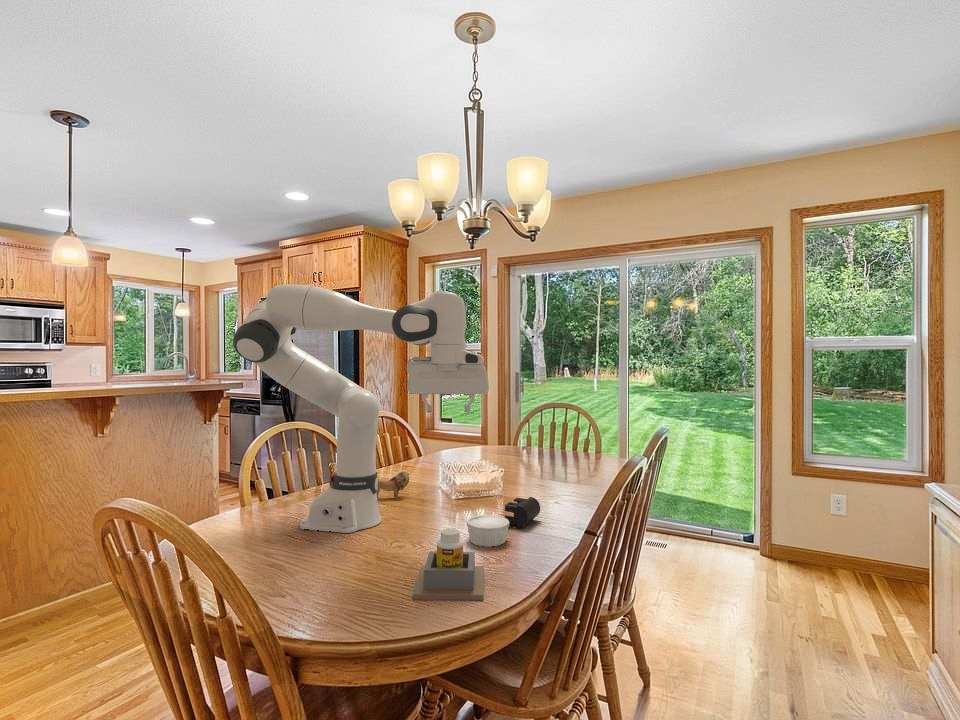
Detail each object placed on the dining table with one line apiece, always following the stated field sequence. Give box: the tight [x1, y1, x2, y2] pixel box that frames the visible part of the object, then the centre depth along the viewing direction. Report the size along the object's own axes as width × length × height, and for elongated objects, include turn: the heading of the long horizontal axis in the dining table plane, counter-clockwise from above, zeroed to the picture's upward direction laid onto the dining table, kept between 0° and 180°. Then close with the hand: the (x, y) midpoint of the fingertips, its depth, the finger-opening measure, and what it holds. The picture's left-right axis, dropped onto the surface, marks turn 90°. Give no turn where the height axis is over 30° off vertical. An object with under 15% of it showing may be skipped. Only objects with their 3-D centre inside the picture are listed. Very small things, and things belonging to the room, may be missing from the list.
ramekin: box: [466, 514, 510, 548], centre depth 135 cm, size 11×11×5 cm
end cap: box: [504, 496, 541, 529], centre depth 149 cm, size 10×7×7 cm
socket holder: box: [411, 551, 485, 601], centre depth 109 cm, size 14×14×5 cm
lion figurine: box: [377, 470, 410, 501], centre depth 174 cm, size 15×5×9 cm, turn 104°
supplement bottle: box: [436, 528, 464, 568], centre depth 109 cm, size 6×6×10 cm
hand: (448, 412), depth 129 cm, fingers open, 8 cm apart
